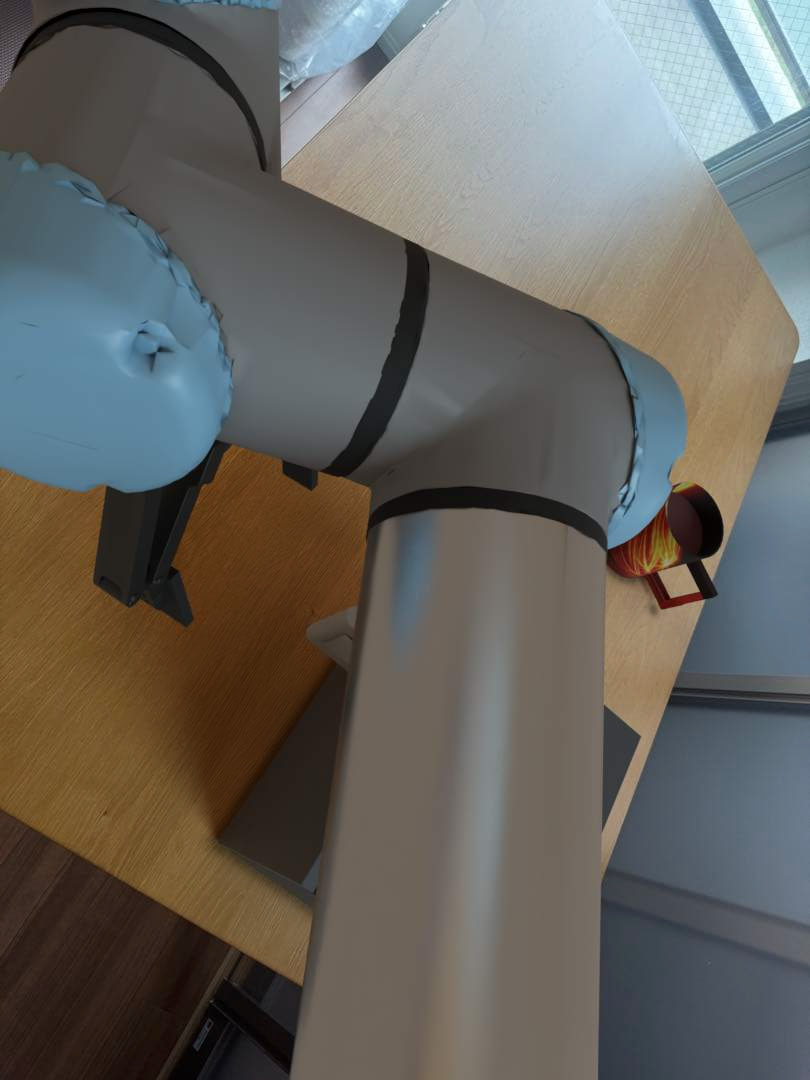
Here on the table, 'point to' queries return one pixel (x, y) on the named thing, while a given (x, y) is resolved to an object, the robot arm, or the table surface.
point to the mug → (674, 544)
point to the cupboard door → (299, 775)
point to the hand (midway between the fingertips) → (241, 542)
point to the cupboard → (616, 762)
